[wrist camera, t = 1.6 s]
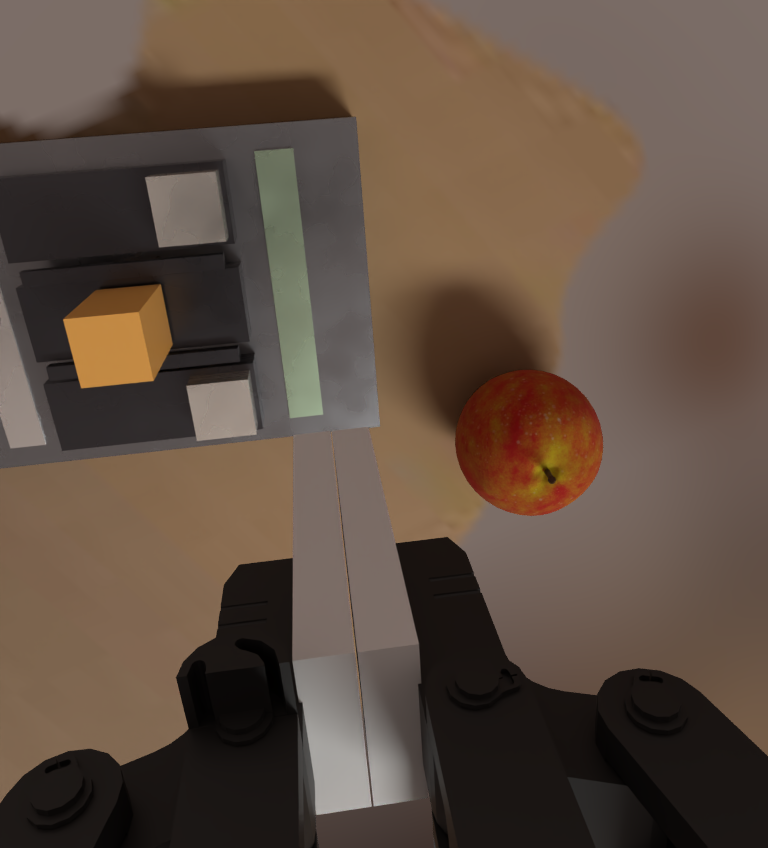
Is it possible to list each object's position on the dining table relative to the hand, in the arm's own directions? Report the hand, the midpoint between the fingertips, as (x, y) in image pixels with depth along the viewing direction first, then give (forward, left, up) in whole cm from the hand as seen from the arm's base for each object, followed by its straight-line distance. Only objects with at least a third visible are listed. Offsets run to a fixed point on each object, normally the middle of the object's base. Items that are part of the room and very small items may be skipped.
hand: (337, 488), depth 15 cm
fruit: (+9, -8, -21) cm, 24 cm away
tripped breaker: (-8, 0, -16) cm, 18 cm away
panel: (-8, 0, -20) cm, 22 cm away
